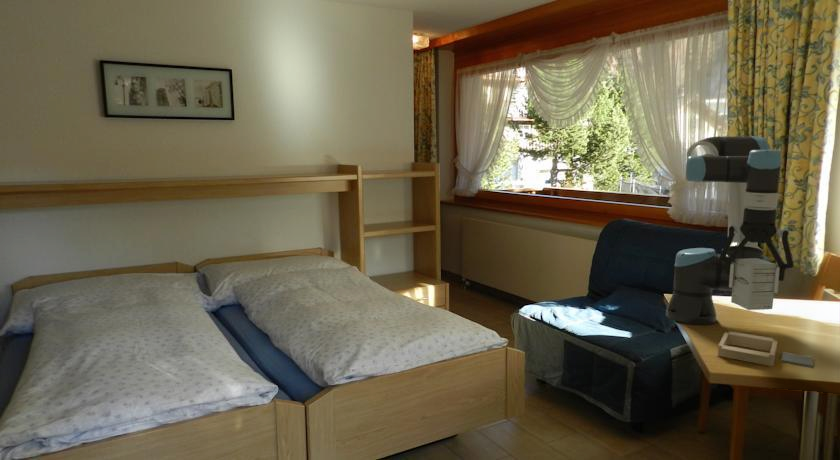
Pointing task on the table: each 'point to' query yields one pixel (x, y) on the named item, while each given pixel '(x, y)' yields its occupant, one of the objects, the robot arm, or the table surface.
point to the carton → (749, 342)
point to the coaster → (797, 359)
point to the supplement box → (753, 283)
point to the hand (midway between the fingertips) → (752, 289)
